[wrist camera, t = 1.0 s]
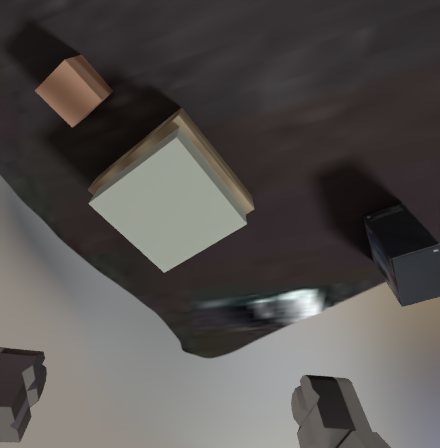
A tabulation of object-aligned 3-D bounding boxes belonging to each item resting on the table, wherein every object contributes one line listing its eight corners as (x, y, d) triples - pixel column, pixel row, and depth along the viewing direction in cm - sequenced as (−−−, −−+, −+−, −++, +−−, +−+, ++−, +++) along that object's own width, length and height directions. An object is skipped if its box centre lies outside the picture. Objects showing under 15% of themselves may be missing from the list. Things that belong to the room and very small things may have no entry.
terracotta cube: (81, 54, 37) (64, 59, 33) (113, 91, 39) (101, 100, 35) (54, 82, 38) (34, 90, 34) (86, 116, 41) (72, 127, 36)
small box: (359, 216, 50) (390, 259, 41) (402, 200, 48) (444, 241, 39) (371, 262, 55) (401, 309, 46) (410, 249, 54) (448, 295, 45)
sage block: (179, 126, 38) (176, 137, 34) (244, 208, 44) (246, 224, 41) (98, 188, 42) (88, 203, 39) (167, 255, 48) (164, 272, 45)
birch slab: (181, 106, 41) (178, 115, 37) (251, 193, 48) (254, 209, 44) (98, 175, 46) (87, 189, 42) (171, 245, 53) (168, 262, 49)
